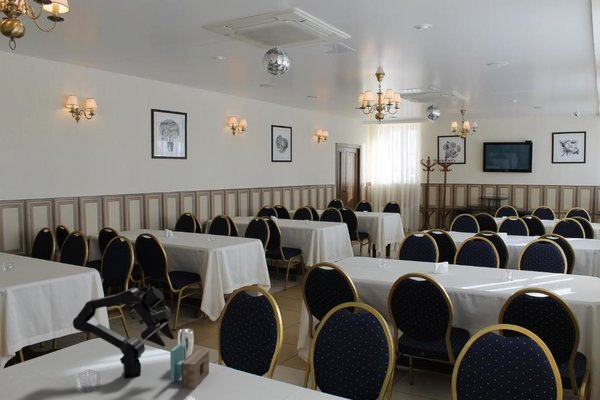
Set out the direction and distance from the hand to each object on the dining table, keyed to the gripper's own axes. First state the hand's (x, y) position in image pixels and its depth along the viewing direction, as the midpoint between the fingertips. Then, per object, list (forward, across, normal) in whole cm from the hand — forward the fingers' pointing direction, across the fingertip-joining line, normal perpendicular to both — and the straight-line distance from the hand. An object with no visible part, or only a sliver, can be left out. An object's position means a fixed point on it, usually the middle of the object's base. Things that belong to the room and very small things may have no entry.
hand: (168, 342), depth 218 cm
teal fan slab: (+15, -1, +4) cm, 16 cm away
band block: (+19, -1, 0) cm, 19 cm away
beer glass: (+12, +16, +9) cm, 22 cm away
